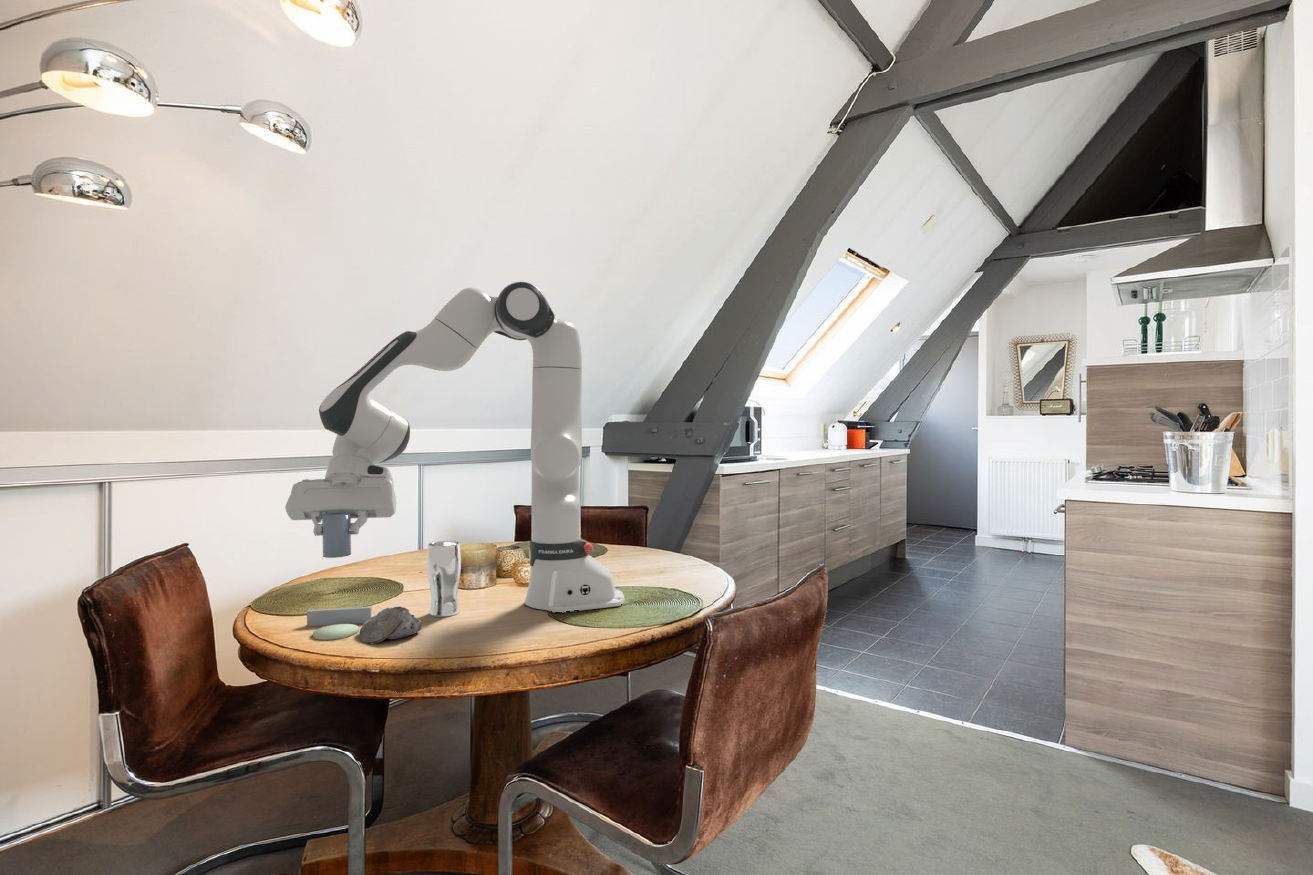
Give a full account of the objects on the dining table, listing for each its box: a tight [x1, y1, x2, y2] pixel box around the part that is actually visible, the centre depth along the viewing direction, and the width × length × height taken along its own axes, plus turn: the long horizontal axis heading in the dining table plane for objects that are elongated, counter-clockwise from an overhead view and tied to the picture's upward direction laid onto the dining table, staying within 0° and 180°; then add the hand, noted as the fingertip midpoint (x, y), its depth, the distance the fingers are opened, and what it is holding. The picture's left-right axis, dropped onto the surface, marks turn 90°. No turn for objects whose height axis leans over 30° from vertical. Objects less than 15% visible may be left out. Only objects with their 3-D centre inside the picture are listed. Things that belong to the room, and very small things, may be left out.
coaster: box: [312, 624, 360, 641], centre depth 128 cm, size 8×8×1 cm
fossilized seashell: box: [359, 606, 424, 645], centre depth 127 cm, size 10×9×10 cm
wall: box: [306, 606, 373, 627], centre depth 134 cm, size 12×1×3 cm, turn 101°
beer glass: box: [426, 540, 462, 618], centre depth 141 cm, size 7×7×15 cm
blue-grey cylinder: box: [321, 513, 352, 559], centre depth 130 cm, size 5×5×8 cm
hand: (335, 533), depth 129 cm, fingers closed on blue-grey cylinder, 5 cm apart
